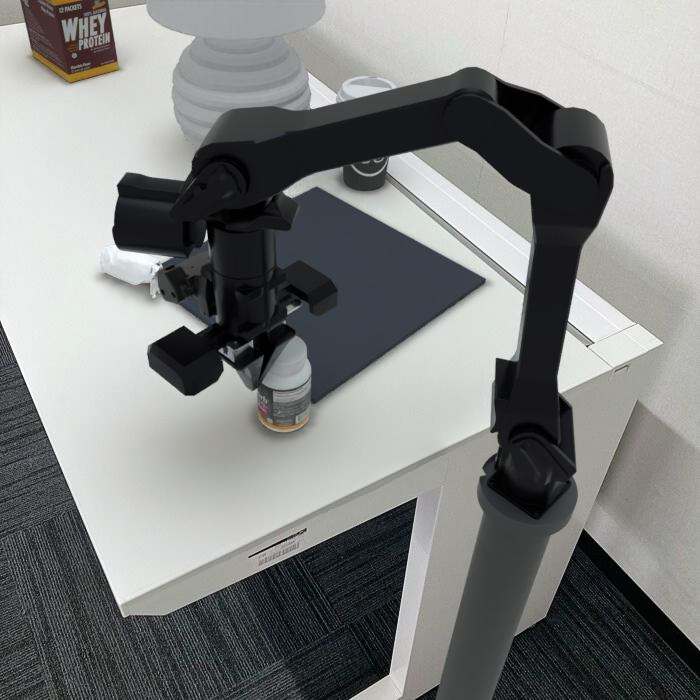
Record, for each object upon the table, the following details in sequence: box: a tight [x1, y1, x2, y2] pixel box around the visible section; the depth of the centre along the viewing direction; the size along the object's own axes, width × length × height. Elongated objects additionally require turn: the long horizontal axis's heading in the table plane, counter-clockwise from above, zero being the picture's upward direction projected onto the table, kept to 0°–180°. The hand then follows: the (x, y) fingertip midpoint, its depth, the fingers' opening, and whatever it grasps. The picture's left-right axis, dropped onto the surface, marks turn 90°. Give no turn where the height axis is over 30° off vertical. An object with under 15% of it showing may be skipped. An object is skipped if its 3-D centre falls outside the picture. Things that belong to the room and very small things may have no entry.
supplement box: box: [19, 0, 120, 83], centre depth 146 cm, size 10×15×16 cm
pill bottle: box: [256, 336, 312, 433], centre depth 83 cm, size 6×6×10 cm
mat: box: [161, 185, 487, 404], centre depth 104 cm, size 32×32×1 cm
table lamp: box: [145, 0, 327, 151], centre depth 115 cm, size 25×25×40 cm
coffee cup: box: [335, 75, 398, 192], centre depth 119 cm, size 10×10×15 cm
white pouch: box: [99, 243, 163, 299], centre depth 100 cm, size 5×7×10 cm
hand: (252, 387), depth 79 cm, fingers closed
